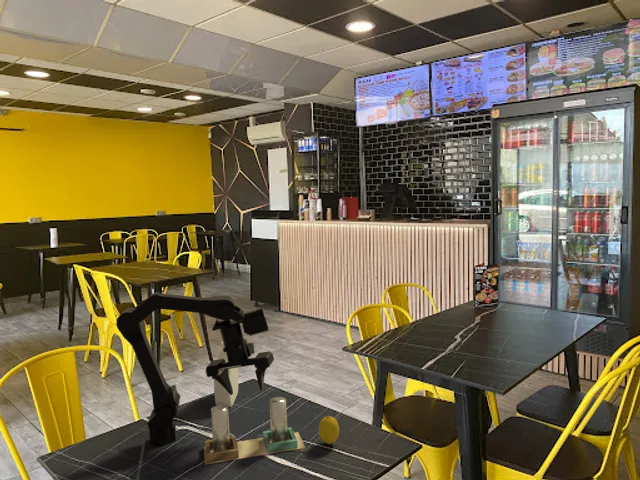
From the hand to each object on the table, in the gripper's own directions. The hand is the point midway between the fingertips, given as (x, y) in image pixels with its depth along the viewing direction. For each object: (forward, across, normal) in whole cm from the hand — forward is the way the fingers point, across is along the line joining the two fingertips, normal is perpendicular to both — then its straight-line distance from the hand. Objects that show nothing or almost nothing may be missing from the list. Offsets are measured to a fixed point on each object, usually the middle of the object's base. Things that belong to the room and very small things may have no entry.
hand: (247, 392), depth 141 cm
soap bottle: (+11, +17, -21) cm, 29 cm away
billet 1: (+10, +5, +13) cm, 17 cm away
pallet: (+12, -2, +10) cm, 16 cm away
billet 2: (+13, -8, +7) cm, 17 cm away
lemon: (+17, -21, +4) cm, 27 cm away
